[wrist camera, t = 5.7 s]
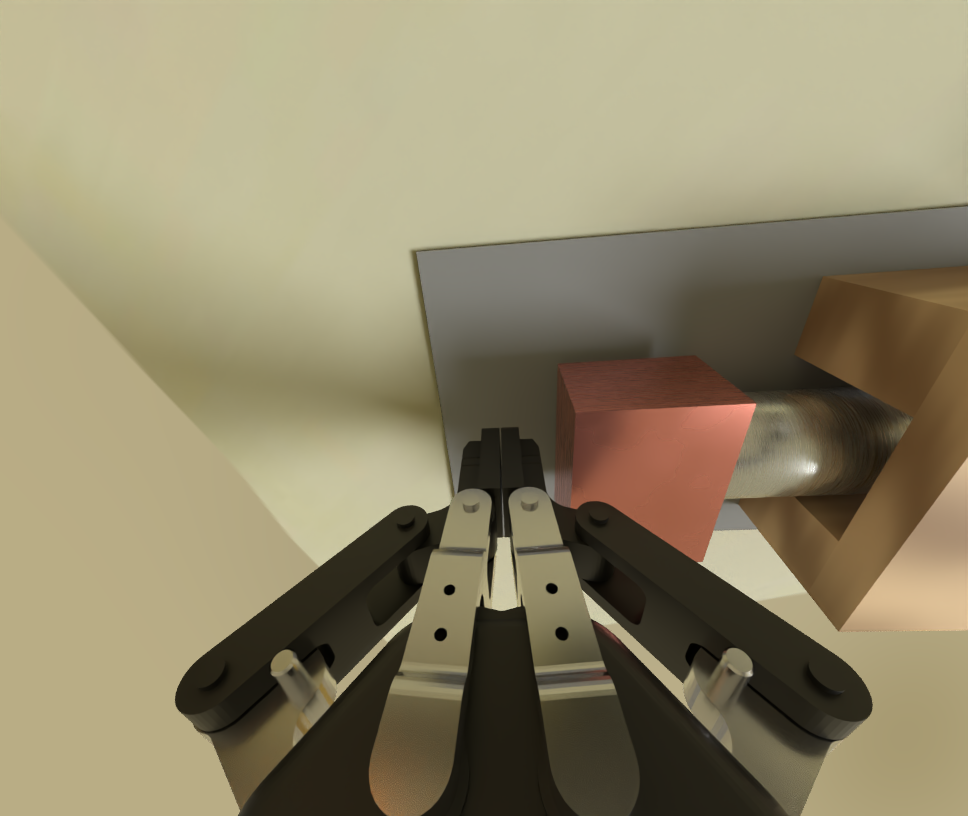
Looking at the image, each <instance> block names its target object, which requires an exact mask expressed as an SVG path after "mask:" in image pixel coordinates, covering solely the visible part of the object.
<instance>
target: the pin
mask: <svg viewBox="0 0 968 816" xmlns="http://www.w3.org/2000/svg"><path fill="white" fill-rule="evenodd" d="M913 418H914V417H912V416H910V415H908V414H906V413H904V412H902V411H900V410H898V409H896V408H894V407H893V406H891V405H889V404H887V403H885V402H883V401H881V400H879V399H877V398H875V397H874V396H872V395H870V394H868V393H866V392H864V391H862V390H860V389H858V388H856V387H855V386H853V387H834V388H815V389H797V390H778V391H759V392H741V391H740V390H739V389H738V388H736V387H735V386H734V385H733V384H731V383H730V382H729V381H728V380H726V379H725V378H724V377H722V376H721V375H720V374H719V373H717V372H716V371H715V370H714V369H712V368H711V367H710V366H709V365H707V364H706V363H705V362H703V361H702V360H701V359H700V358H698V357H697V356H696V355H692V356H675V357H658V358H642V359H625V360H609V361H592V362H575V363H559V364H558V370H557V410H556V450H555V491H554V499H555V502H556V503H558V504H559V505H562V506H565V507H569V508H573V509H578V507H579V506H580V505H581V504H583V503H585V502H589V501H600V502H604V503H607V504H609V505H611V506H613V507H614V508H616V509H617V510H619V511H620V512H622V513H623V514H625V515H626V516H628V517H629V518H631V519H632V520H634V521H635V522H637V523H638V524H640V525H641V526H643V527H644V528H646V529H647V530H649V531H650V532H652V533H653V534H655V535H656V536H658V537H659V538H661V539H662V540H664V541H665V542H667V543H668V544H670V545H671V546H673V547H674V548H676V549H677V550H679V551H680V552H682V553H683V554H685V555H686V556H688V557H689V558H691V559H692V560H694V561H696V562H703V559H704V556H705V553H706V550H707V547H708V544H709V541H710V539H711V536H712V533H713V530H714V527H715V524H716V521H717V518H718V515H719V512H720V509H721V506H722V503H723V501H724V499H732V498H761V497H790V496H818V495H847V494H868V492H869V491H870V489H871V487H872V486H873V484H874V482H875V481H876V479H877V477H878V476H879V474H880V472H881V471H882V469H883V467H884V466H885V464H886V463H887V461H888V459H889V458H890V456H891V454H892V453H893V451H894V449H895V448H896V446H897V444H898V443H899V441H900V439H901V438H902V436H903V434H904V433H905V431H906V429H907V428H908V426H909V424H910V423H911V421H912V420H913Z"/></svg>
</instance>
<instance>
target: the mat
mask: <svg viewBox="0 0 968 816" xmlns="http://www.w3.org/2000/svg"><path fill="white" fill-rule="evenodd" d="M416 254H417V260H418V267H419V273H420V279H421V285H422V292H423V298H424V304H425V310H426V317H427V323H428V329H429V335H430V342H431V348H432V354H433V361H434V367H435V373H436V379H437V386H438V392H439V398H440V404H441V411H442V417H443V423H444V429H445V436H446V442H447V448H448V454H449V461H450V467H451V473H452V480H453V486H454V492H455V495H456V494H457V491H458V484H459V476H460V469H461V461H462V454H463V449H464V447H465V446H466V445H467V443H468V442H469V441H481V431H482V428H499V429H500V446H501V428H503V427H519V436H520V439H533V440H534V441H535V442H536V444H537V445H538V446H539V450H540V457H541V462H542V468H543V474H544V480H545V485H546V491H547V494H548V495H549V497H550V498H551V499H552V500H553V501H554V502H555V499H554V491H555V450H556V410H557V370H558V364H559V363H575V362H592V361H609V360H625V359H642V358H658V357H675V356H692V355H696V356H697V357H698V358H700V359H701V360H702V361H703V362H705V363H706V364H707V365H709V366H710V367H711V368H712V369H714V370H715V371H716V372H717V373H719V374H720V375H721V376H722V377H724V378H725V379H726V380H728V381H729V382H730V383H731V384H733V385H734V386H735V387H736V388H738V389H739V390H740V391H741V392H759V391H778V390H797V389H815V388H834V387H853V385H851V384H849V383H847V382H845V381H843V380H841V379H839V378H837V377H835V376H834V375H832V374H830V373H828V372H826V371H824V370H822V369H820V368H818V367H816V366H815V365H813V364H811V363H809V362H807V361H805V360H803V359H801V358H799V357H797V356H796V355H794V353H795V350H796V348H797V345H798V342H799V340H800V337H801V334H802V332H803V329H804V326H805V324H806V321H807V318H808V315H809V313H810V310H811V307H812V305H813V302H814V299H815V297H816V294H817V291H818V289H819V286H820V283H821V281H822V278H823V276H834V275H848V274H862V273H875V272H889V271H903V270H917V269H930V268H944V267H958V266H968V206H959V207H947V208H935V209H923V210H911V211H899V212H886V213H874V214H862V215H850V216H838V217H826V218H814V219H802V220H790V221H778V222H766V223H753V224H741V225H729V226H717V227H705V228H693V229H681V230H669V231H657V232H645V233H632V234H620V235H608V236H596V237H584V238H572V239H560V240H548V241H536V242H524V243H511V244H499V245H487V246H475V247H463V248H451V249H439V250H427V251H417V252H416ZM501 465H502V461H501ZM739 501H740V498H732V499H724V501H723V503H722V506H721V509H720V512H719V515H718V518H717V521H716V524H715V527H714V530H713V531H716V530H750V529H757V528H756V526H755V525H754V524H753V523H752V521H751V520H750V519H749V517H748V516H747V515H746V514H745V512H744V511H743V510H742V509H741V507H740V506H739V505H738V504H739ZM502 510H503V496H502ZM503 537H505V531H504V514H503Z"/></svg>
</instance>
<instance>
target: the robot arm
mask: <svg viewBox="0 0 968 816" xmlns="http://www.w3.org/2000/svg"><path fill="white" fill-rule="evenodd" d="M501 461H502V465H501ZM502 496H503V510H502ZM503 514H504V531H505V537H510V545H511V561H512V569H513V576H514V584H515V592H516V600H517V607H516V608H513V609H509V610H506V611H498V610H494V609H492V598H493V586H494V575H495V564H496V551H497V538H499V537H503ZM582 590H583V591H584V592H585V593H586V594H587V595H588V596H590V597H591V598H592V599H593V600H594V601H595V602H596V603H597V604H598V605H599V606H600V607H601V608H602V609H604V610H605V611H606V612H607V613H608V614H609V615H610V616H611V617H612V618H613V619H614V620H615V621H616V622H618V623H619V624H620V625H621V626H622V627H623V628H624V629H625V630H626V631H627V632H628V633H629V634H630V635H632V636H633V637H634V638H635V639H636V640H637V641H638V642H639V643H640V644H641V645H642V646H643V647H644V648H646V649H647V650H648V651H649V652H650V653H651V654H652V655H653V656H654V657H655V658H656V659H657V660H659V661H660V662H661V663H662V664H663V665H664V666H665V667H666V668H667V669H668V670H669V671H671V673H673V674H674V675H675V676H676V677H677V678H678V679H679V680H680V681H681V682H682V683H683V684H684V686H683V689H684V696H685V699H686V702H687V704H688V706H689V708H690V710H691V712H692V713H693V714H692V713H691V712H690V711H689V710H688V709H687V708H686V707H685V706H684V705H683V704H682V703H681V702H680V701H679V700H678V699H677V698H676V697H675V696H674V695H673V694H672V693H671V691H669V690H668V689H667V688H666V686H664V684H663V683H662V682H661V681H660V680H659V679H658V678H657V677H656V676H655V675H654V674H652V672H651V671H650V670H649V669H648V668H647V667H646V666H645V665H644V664H643V663H642V662H641V661H640V660H639V659H638V658H637V657H636V656H635V655H634V654H633V653H632V652H631V651H630V650H629V649H628V648H627V647H626V646H625V645H624V644H623V643H622V642H621V641H620V640H619V639H618V638H617V637H616V636H615V635H614V634H613V633H611V632H610V631H609V630H608V629H607V628H605V627H604V626H602V625H601V624H599V623H598V622H596V621H594V620H592V619H590V615H589V612H588V609H587V605H586V602H585V599H584V595H583V592H582ZM417 603H418V604H417ZM416 604H417V608H416V612H415V615H414V619H413V622H412V623H410V624H409V625H407V626H406V627H405V628H403V629H402V630H401V631H400V632H398V633H397V634H396V635H395V636H394V637H393V638H392V639H391V640H390V641H389V642H388V643H387V645H386V646H385V647H384V648H383V649H382V650H381V651H380V652H379V653H378V655H377V656H376V657H375V658H374V659H373V660H372V661H371V662H370V663H369V665H367V667H366V668H365V669H364V670H363V671H362V672H361V673H360V674H359V675H358V677H357V678H356V679H355V680H354V681H353V682H352V683H351V684H350V685H349V687H348V688H347V689H346V690H345V691H344V692H343V693H342V694H341V695H340V696H339V697H338V698H337V700H336V701H335V702H334V700H335V697H336V692H337V684H338V683H339V682H340V681H341V680H342V679H343V678H344V677H345V676H346V675H347V674H348V673H349V672H350V671H351V670H352V669H353V668H354V667H355V665H357V664H358V663H359V661H361V660H362V659H363V658H364V657H365V655H366V654H367V653H368V652H369V651H370V650H371V649H372V648H373V647H374V646H375V645H376V644H377V643H378V642H379V641H380V640H381V639H382V638H383V637H384V636H385V635H386V634H387V633H388V632H389V631H390V630H391V629H392V628H393V627H394V626H395V625H396V624H397V623H398V622H399V621H400V620H401V619H402V618H403V617H404V616H405V615H406V614H407V613H408V612H409V611H410V610H411V609H412V608H413V607H414V606H415V605H416ZM175 703H176V707H177V709H178V710H179V711H180V712H181V713H182V714H183V715H184V716H185V717H186V718H188V719H189V720H190V721H191V722H192V723H193V725H194V728H195V729H196V730H197V731H198V732H199V733H200V734H201V735H202V736H203V737H205V738H206V739H207V740H208V741H209V742H210V743H211V744H212V745H214V748H215V750H216V752H217V755H218V757H219V760H220V762H221V765H222V767H223V769H224V772H225V774H226V777H227V779H228V782H229V784H230V787H231V789H232V792H233V794H234V796H235V799H236V802H237V804H238V806H239V809H240V813H239V815H238V816H800V815H801V813H802V810H803V808H804V806H805V803H806V801H807V799H808V796H809V794H810V791H811V789H812V786H813V784H814V782H815V780H816V777H817V775H818V773H819V770H820V768H821V766H822V763H823V761H824V758H825V757H826V756H827V755H828V754H829V753H831V752H832V751H833V750H834V749H835V748H836V747H837V746H838V745H839V744H840V743H841V742H842V741H843V740H844V739H845V738H847V736H849V735H850V734H851V733H852V732H853V731H854V730H855V729H856V728H857V727H858V726H859V725H860V724H862V723H863V722H864V721H865V720H866V719H867V718H868V717H869V715H870V714H871V712H872V705H873V704H872V698H871V696H870V693H869V691H868V689H867V687H866V685H865V684H864V682H863V681H862V679H861V678H860V677H859V675H858V674H857V673H856V672H855V671H854V670H853V669H852V668H851V667H850V666H849V665H848V664H847V663H846V662H844V661H843V660H842V659H841V658H839V657H838V656H837V655H835V654H834V653H832V652H831V651H829V650H828V649H826V648H824V647H823V646H822V645H820V644H819V643H817V642H815V641H814V640H813V639H811V638H810V637H808V636H807V635H805V634H804V633H802V632H801V631H799V630H798V629H796V628H794V627H793V626H792V625H790V624H788V623H787V622H786V621H784V620H783V619H781V618H780V617H778V616H777V615H775V614H774V613H772V612H770V611H769V610H768V609H766V608H764V607H763V606H762V605H760V604H758V603H757V602H756V601H754V600H753V599H751V598H750V597H748V596H747V595H745V594H744V593H742V592H741V591H739V590H738V589H736V588H735V587H733V586H732V585H730V584H729V583H727V582H726V581H724V580H723V579H721V578H720V577H718V576H717V575H715V574H714V573H712V572H711V571H709V570H708V569H706V568H705V567H703V566H702V565H700V564H699V563H697V562H696V561H694V560H692V559H691V558H689V557H688V556H686V555H685V554H683V553H682V552H680V551H679V550H677V549H676V548H674V547H673V546H671V545H670V544H668V543H667V542H665V541H664V540H662V539H661V538H659V537H658V536H656V535H655V534H653V533H652V532H650V531H649V530H647V529H646V528H644V527H643V526H641V525H640V524H638V523H637V522H635V521H634V520H632V519H631V518H629V517H628V516H626V515H625V514H623V513H622V512H620V511H619V510H617V509H616V508H614V507H613V506H611V505H609V504H607V503H604V502H600V501H589V502H585V503H583V504H581V505H580V506H579V507H578V509H573V508H569V507H565V506H562V505H559V504H558V503H556V502H554V501H553V500H552V499H551V498H550V497H549V495H548V494H547V491H546V485H545V480H544V474H543V468H542V462H541V457H540V450H539V446H538V445H537V444H536V442H535V441H534V440H533V439H520V436H519V427H503V428H501V446H500V429H499V428H482V431H481V441H469V442H468V443H467V445H466V446H465V447H464V449H463V454H462V461H461V469H460V476H459V484H458V491H457V494H456V495H455V496H454V497H453V498H452V500H451V503H450V505H449V506H447V507H446V508H444V509H441V510H439V511H435V512H432V513H428V514H427V513H426V512H425V510H424V509H422V508H421V507H418V506H413V505H409V506H403V507H400V508H398V509H396V510H394V511H393V512H391V513H390V514H389V515H388V516H386V517H385V518H384V519H382V520H381V521H380V522H378V523H377V524H376V525H374V526H373V527H372V528H370V529H369V530H368V531H366V532H365V533H364V534H362V535H361V536H360V537H359V538H357V539H356V540H355V541H353V542H352V543H351V544H349V545H348V546H347V547H345V548H344V549H343V550H341V551H340V552H339V553H337V554H336V555H335V556H333V557H332V558H331V559H330V560H328V561H327V562H326V563H324V564H323V565H322V566H320V567H319V568H318V569H316V570H315V571H314V572H312V573H311V574H310V575H308V576H307V577H306V578H304V579H303V580H302V581H301V582H299V583H298V584H297V585H295V586H294V587H293V588H291V589H290V590H289V591H287V592H286V593H285V594H283V595H282V596H281V597H279V598H278V599H277V600H275V601H274V602H273V603H272V604H270V605H269V606H268V607H266V608H265V609H264V610H263V611H261V612H260V613H258V614H257V615H256V616H254V617H253V618H252V619H250V620H249V621H248V622H247V623H246V624H244V625H243V626H241V627H240V628H239V629H237V630H236V631H235V632H233V633H232V634H231V635H229V636H228V637H227V638H226V639H224V640H223V641H221V642H220V643H219V644H217V645H216V646H215V647H214V648H212V649H211V650H210V651H208V652H207V653H206V654H205V655H203V656H202V657H201V658H199V659H198V660H197V661H196V662H195V663H194V664H193V665H192V666H191V667H190V668H189V670H188V671H187V672H186V674H185V675H184V676H183V678H182V680H181V682H180V684H179V686H178V688H177V692H176V696H175Z"/></svg>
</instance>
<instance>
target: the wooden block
mask: <svg viewBox="0 0 968 816" xmlns="http://www.w3.org/2000/svg"><path fill="white" fill-rule="evenodd" d="M794 355H796V356H797V357H799V358H801V359H803V360H805V361H807V362H809V363H811V364H813V365H815V366H816V367H818V368H820V369H822V370H824V371H826V372H828V373H830V374H832V375H834V376H835V377H837V378H839V379H841V380H843V381H845V382H847V383H849V384H851V385H853V386H855V387H856V388H858V389H860V390H862V391H864V392H866V393H868V394H870V395H872V396H874V397H875V398H877V399H879V400H881V401H883V402H885V403H887V404H889V405H891V406H893V407H894V408H896V409H898V410H900V411H902V412H904V413H906V414H908V415H910V416H912V417H914V418H913V420H912V421H911V423H910V424H909V426H908V428H907V429H906V431H905V433H904V434H903V436H902V438H901V439H900V441H899V443H898V444H897V446H896V448H895V449H894V451H893V453H892V454H891V456H890V458H889V459H888V461H887V463H886V464H885V466H884V467H883V469H882V471H881V472H880V474H879V476H878V477H877V479H876V481H875V482H874V484H873V486H872V487H871V489H870V491H869V492H868V494H847V495H818V496H790V497H761V498H740V501H739V504H738V505H739V506H740V507H741V509H742V510H743V511H744V512H745V514H746V515H747V516H748V517H749V519H750V520H751V521H752V523H753V524H754V525H755V526H756V528H757V529H758V530H759V531H760V533H761V534H762V535H763V536H764V538H765V539H766V540H767V542H768V543H769V544H770V545H771V547H772V548H773V549H774V550H775V552H776V553H777V554H778V555H779V557H780V558H781V559H782V561H783V562H784V563H785V564H786V566H787V567H788V568H789V569H790V571H791V572H792V573H793V574H794V576H795V577H796V578H797V580H798V581H799V582H800V583H801V585H802V586H803V587H804V588H805V590H806V591H807V592H808V593H809V595H810V596H811V597H812V599H813V600H814V601H815V602H816V604H817V605H818V606H819V607H820V609H821V610H822V611H823V612H824V614H825V615H826V616H827V618H828V619H829V620H830V621H831V622H832V624H833V625H834V626H835V628H836V629H837V630H838V631H839V632H850V631H851V632H853V631H856V632H858V631H939V630H940V631H945V630H968V266H958V267H944V268H930V269H917V270H903V271H889V272H875V273H862V274H848V275H834V276H823V278H822V281H821V283H820V286H819V289H818V291H817V294H816V297H815V299H814V302H813V305H812V307H811V310H810V313H809V315H808V318H807V321H806V324H805V326H804V329H803V332H802V334H801V337H800V340H799V342H798V345H797V348H796V350H795V353H794Z"/></svg>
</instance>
